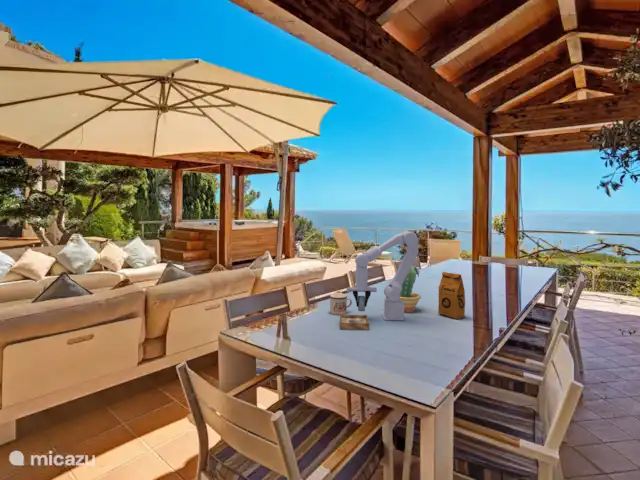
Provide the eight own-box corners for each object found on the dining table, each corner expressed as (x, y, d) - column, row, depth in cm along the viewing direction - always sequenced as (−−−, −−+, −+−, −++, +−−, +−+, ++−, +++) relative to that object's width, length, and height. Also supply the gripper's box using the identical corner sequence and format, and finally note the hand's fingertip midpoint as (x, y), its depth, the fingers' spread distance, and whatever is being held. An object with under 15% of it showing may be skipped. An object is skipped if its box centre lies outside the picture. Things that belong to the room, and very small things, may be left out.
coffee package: (454, 320, 179) (456, 275, 178) (435, 314, 190) (436, 272, 188) (468, 317, 184) (469, 274, 183) (448, 311, 195) (449, 270, 193)
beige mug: (332, 315, 187) (333, 293, 186) (327, 311, 196) (327, 289, 195) (354, 313, 191) (355, 291, 190) (348, 309, 199) (348, 288, 198)
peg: (364, 309, 184) (364, 295, 183) (365, 311, 181) (365, 297, 180) (357, 309, 184) (357, 295, 184) (358, 311, 181) (358, 297, 180)
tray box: (367, 321, 178) (367, 315, 177) (369, 329, 165) (369, 323, 164) (339, 320, 178) (340, 314, 178) (339, 329, 165) (339, 322, 165)
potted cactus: (420, 314, 190) (421, 266, 188) (390, 312, 194) (390, 265, 192) (420, 307, 205) (421, 262, 203) (392, 305, 209) (393, 261, 207)
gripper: (375, 277, 185) (375, 304, 186) (346, 277, 186) (346, 304, 187) (377, 280, 178) (376, 307, 179) (346, 280, 179) (346, 307, 180)
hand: (361, 306), depth 182 cm, fingers closed on peg, 3 cm apart
